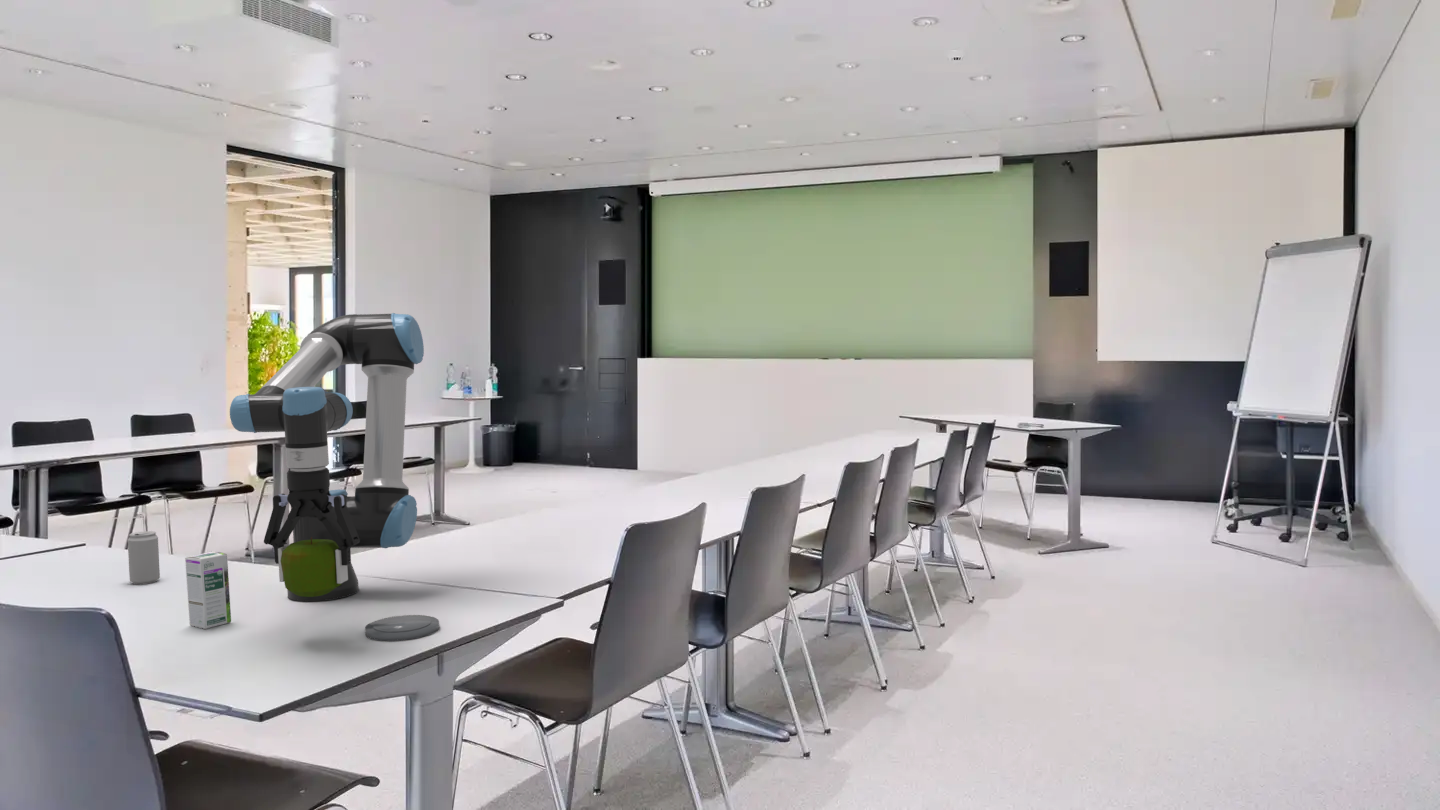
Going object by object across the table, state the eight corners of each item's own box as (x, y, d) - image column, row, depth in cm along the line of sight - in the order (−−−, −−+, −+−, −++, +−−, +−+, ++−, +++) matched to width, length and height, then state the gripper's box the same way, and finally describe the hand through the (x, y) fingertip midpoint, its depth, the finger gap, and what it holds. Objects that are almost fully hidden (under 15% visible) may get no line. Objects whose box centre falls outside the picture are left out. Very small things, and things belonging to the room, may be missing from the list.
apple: (356, 586, 203) (353, 531, 202) (323, 601, 192) (320, 544, 191) (306, 583, 205) (303, 529, 204) (271, 598, 195) (267, 542, 194)
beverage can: (123, 584, 247) (120, 534, 246) (147, 578, 253) (144, 529, 252) (142, 586, 245) (140, 536, 244) (166, 580, 251) (163, 531, 250)
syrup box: (205, 629, 207) (201, 558, 206) (188, 625, 210) (184, 555, 209) (231, 622, 212) (228, 553, 211) (214, 618, 215) (211, 550, 214)
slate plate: (351, 639, 199) (351, 632, 199) (386, 619, 212) (386, 612, 212) (420, 642, 196) (419, 634, 196) (450, 621, 210) (450, 614, 210)
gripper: (239, 470, 195) (245, 584, 197) (355, 472, 191) (361, 587, 193) (262, 464, 202) (269, 574, 204) (375, 465, 198) (380, 577, 200)
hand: (313, 580), depth 198 cm, fingers closed on apple, 11 cm apart
